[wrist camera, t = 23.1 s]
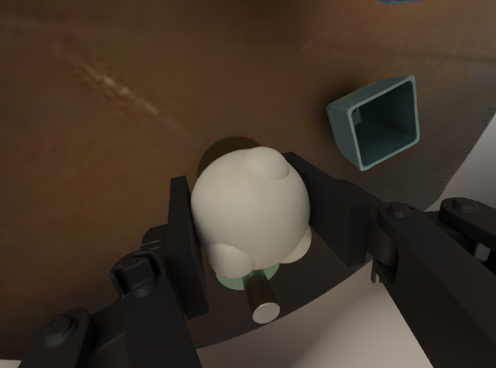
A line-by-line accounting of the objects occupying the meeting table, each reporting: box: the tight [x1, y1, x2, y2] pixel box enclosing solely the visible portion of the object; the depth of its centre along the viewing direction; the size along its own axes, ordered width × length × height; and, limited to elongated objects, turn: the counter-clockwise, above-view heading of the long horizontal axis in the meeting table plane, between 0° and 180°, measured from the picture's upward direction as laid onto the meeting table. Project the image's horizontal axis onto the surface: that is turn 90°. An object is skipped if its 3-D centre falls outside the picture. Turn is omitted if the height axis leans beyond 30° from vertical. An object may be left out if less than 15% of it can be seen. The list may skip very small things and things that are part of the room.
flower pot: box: [326, 75, 420, 171], centre depth 33 cm, size 9×9×9 cm
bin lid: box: [215, 263, 280, 323], centre depth 39 cm, size 12×12×11 cm
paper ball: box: [190, 147, 311, 279], centre depth 12 cm, size 6×6×6 cm
